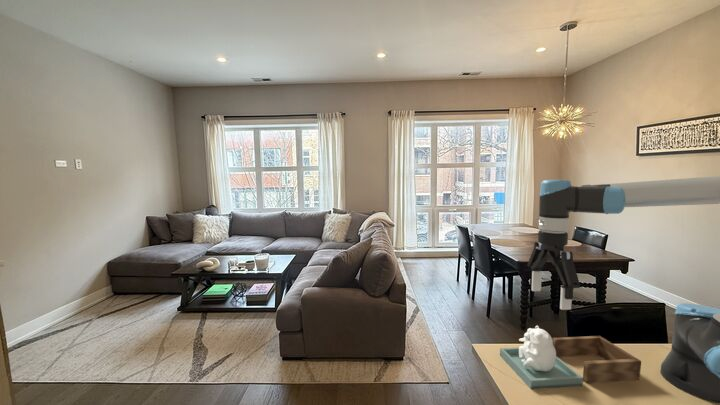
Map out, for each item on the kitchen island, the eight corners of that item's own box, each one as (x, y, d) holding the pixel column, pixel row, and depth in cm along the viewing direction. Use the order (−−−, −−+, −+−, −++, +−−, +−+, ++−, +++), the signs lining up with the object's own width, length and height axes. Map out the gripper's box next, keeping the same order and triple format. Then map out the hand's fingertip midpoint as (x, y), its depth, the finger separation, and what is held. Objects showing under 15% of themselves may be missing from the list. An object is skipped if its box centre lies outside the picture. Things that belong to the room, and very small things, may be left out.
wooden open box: (598, 352, 100) (599, 335, 99) (639, 380, 86) (641, 361, 86) (551, 354, 98) (552, 337, 98) (586, 383, 85) (587, 363, 84)
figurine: (548, 358, 95) (550, 323, 94) (562, 379, 85) (565, 340, 84) (515, 354, 97) (517, 320, 96) (525, 374, 87) (527, 336, 86)
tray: (543, 353, 99) (544, 346, 99) (582, 385, 84) (582, 377, 84) (499, 355, 98) (500, 348, 98) (530, 389, 82) (531, 380, 82)
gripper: (517, 224, 100) (515, 284, 102) (570, 239, 76) (566, 318, 77) (539, 224, 100) (536, 284, 102) (599, 239, 76) (594, 318, 77)
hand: (549, 299), depth 90 cm, fingers open, 13 cm apart
